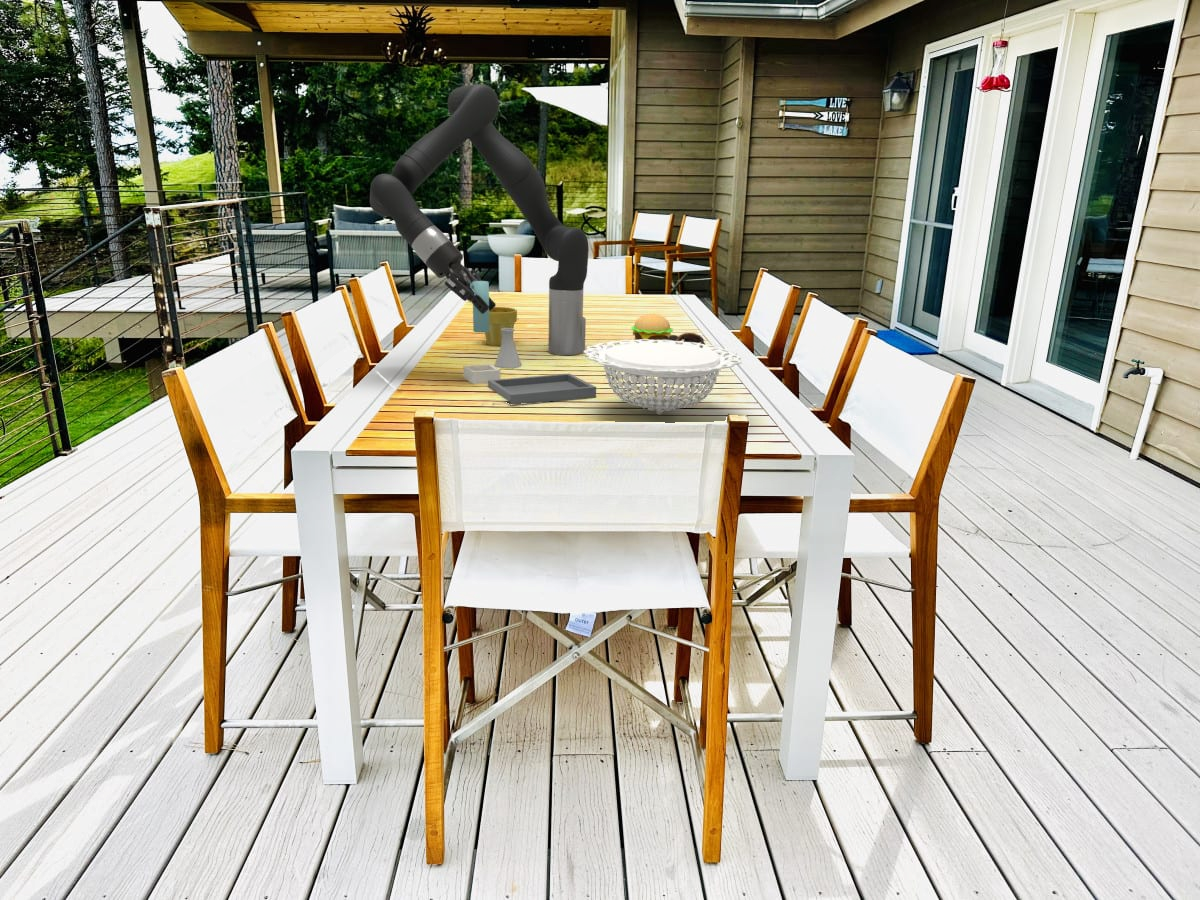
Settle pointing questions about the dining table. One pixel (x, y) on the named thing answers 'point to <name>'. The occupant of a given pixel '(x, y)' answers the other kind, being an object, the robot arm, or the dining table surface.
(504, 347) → the flask
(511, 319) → the plant pot
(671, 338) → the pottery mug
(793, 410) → the dining table surface
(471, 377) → the tray
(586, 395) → the tray
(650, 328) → the hamburger
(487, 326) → the dowel
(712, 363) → the colander
